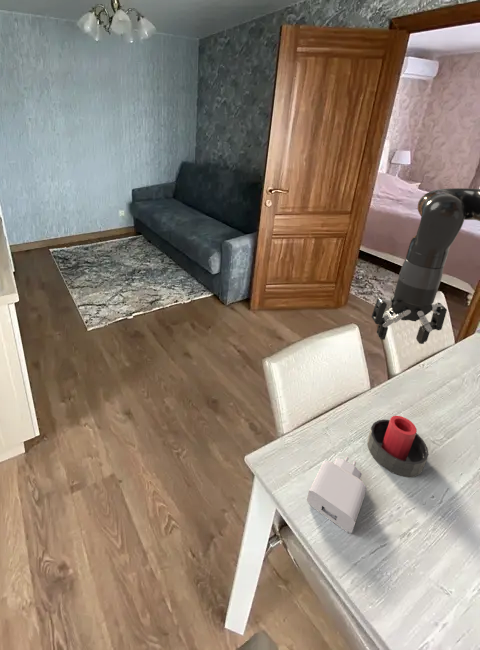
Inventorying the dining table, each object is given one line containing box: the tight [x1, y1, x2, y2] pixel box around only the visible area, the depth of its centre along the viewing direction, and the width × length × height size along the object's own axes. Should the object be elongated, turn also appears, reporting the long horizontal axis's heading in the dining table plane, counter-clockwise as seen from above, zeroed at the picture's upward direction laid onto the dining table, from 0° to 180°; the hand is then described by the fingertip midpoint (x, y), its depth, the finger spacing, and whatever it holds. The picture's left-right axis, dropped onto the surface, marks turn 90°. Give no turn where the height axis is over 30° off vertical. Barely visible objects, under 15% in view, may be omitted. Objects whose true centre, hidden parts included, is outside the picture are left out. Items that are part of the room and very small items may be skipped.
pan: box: [366, 418, 430, 478], centre depth 85 cm, size 12×12×4 cm
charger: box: [306, 456, 368, 534], centre depth 76 cm, size 5×9×15 cm
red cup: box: [382, 415, 418, 461], centre depth 84 cm, size 5×5×9 cm
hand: (400, 339), depth 83 cm, fingers open, 8 cm apart
